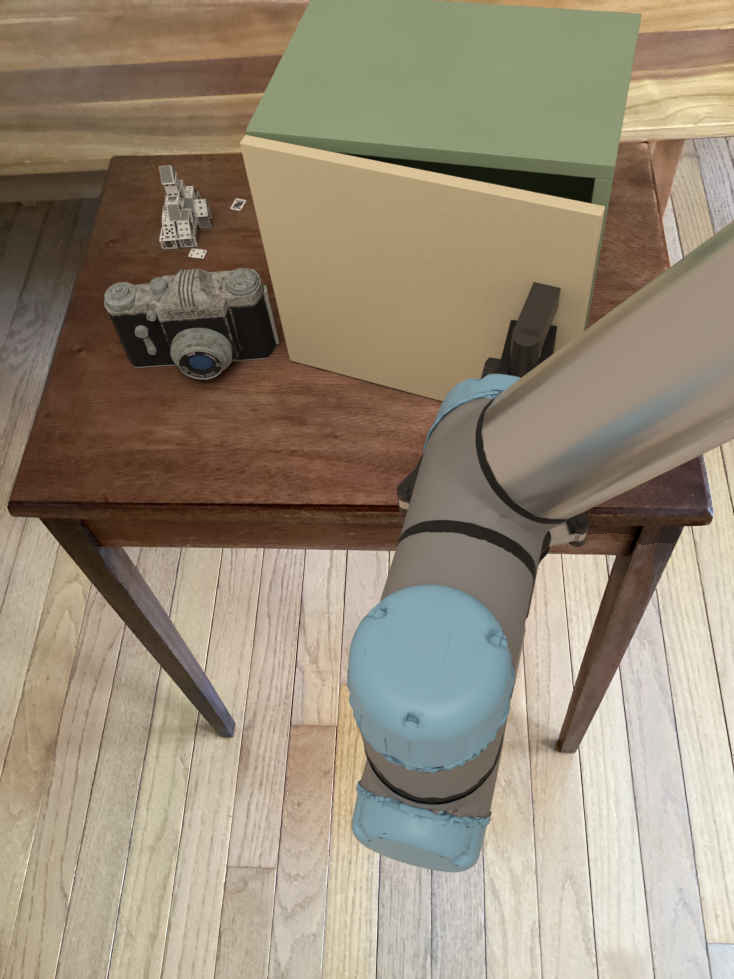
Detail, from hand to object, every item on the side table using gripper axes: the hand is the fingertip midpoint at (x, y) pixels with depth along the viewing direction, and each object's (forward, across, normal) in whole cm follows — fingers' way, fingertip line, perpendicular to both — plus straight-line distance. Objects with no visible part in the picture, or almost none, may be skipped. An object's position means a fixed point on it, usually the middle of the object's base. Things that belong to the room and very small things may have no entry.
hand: (532, 335), depth 70 cm
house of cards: (+19, -37, -12) cm, 44 cm away
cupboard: (+14, -10, -12) cm, 21 cm away
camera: (+2, -31, -12) cm, 33 cm away
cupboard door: (-1, -10, -12) cm, 16 cm away
